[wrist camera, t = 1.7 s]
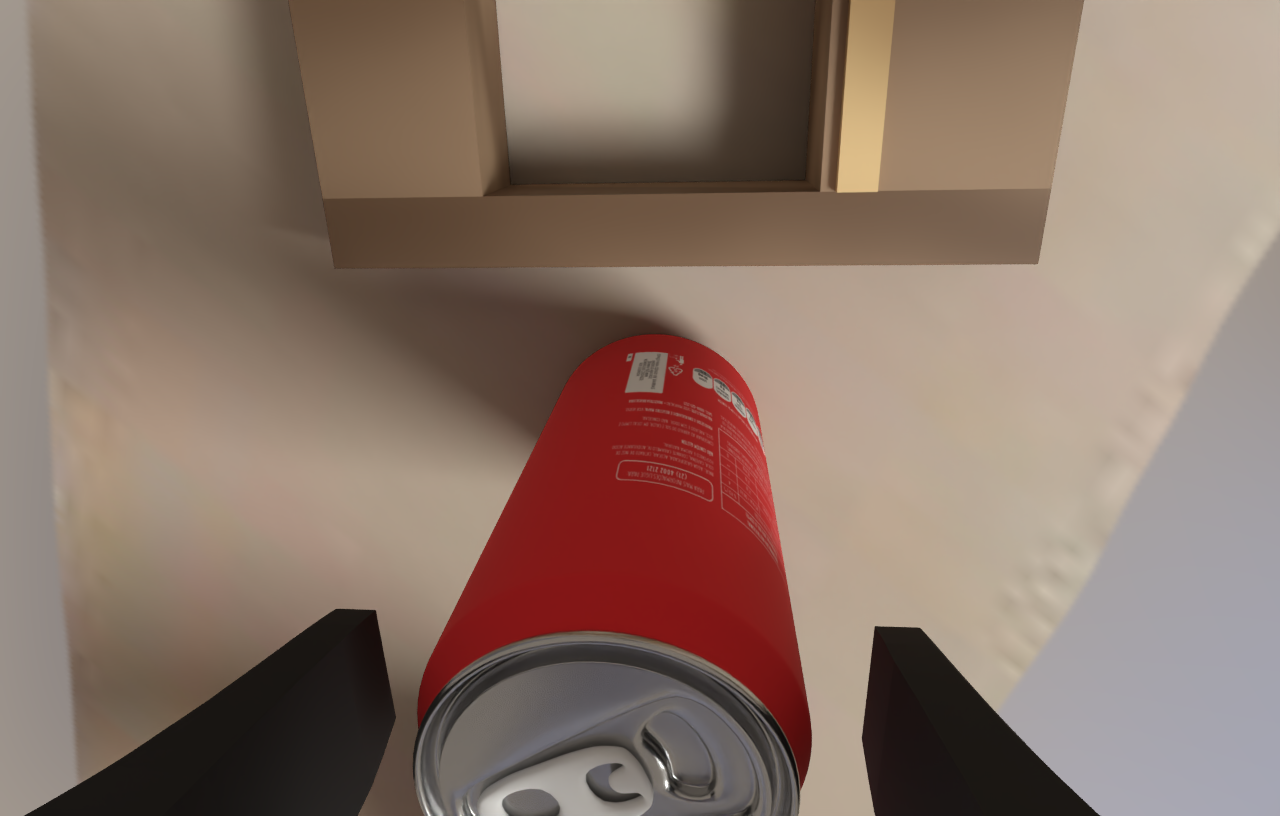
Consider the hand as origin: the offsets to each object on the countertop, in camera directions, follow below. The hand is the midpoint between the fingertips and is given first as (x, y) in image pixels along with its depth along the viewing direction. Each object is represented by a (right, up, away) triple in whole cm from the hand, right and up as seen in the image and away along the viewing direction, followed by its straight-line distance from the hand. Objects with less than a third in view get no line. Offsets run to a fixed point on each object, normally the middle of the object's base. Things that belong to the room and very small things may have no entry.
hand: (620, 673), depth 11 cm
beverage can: (+1, +4, +9) cm, 10 cm away
